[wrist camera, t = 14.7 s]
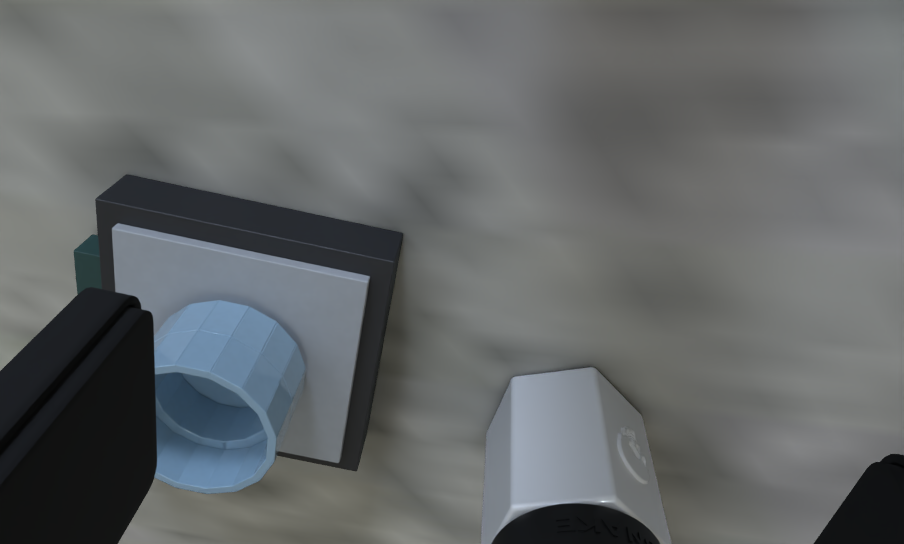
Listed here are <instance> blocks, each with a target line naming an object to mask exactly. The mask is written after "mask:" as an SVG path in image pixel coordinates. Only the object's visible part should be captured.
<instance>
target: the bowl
mask: <svg viewBox="0 0 904 544" xmlns="http://www.w3.org/2000/svg"><path fill="white" fill-rule="evenodd" d="M154 357H155V395H156V433H157V468H156V473H155V476H154V478H156V479H158V480H161V481H163V482H165V483H167V484H169V485H171V486H173V487H175V488H179V489H184V490H189V491H194V492H199V493H204V494H214V493H226V492H236V491H239V490H241V489H243V488H245V487H247V486H249V485H252V484H254V483H256V482H258V481H260V480H261V479H262V477H263V476H264V475H265V474H266V472H267V471H268V470H269V468H270V467H271V466H272V464H273V463H274V461H275V459H276V456H277V454H278V452H279V449H280V447H281V444H282V442H283V439H284V437H285V434H286V432H287V429H288V427H289V424H290V421H291V419H292V416H293V414H294V411H295V409H296V406H297V404H298V401H299V399H300V396H301V394H302V391H303V388H304V379H305V371H306V369H305V364H304V361H303V358H302V356H301V353H300V350H299V348H298V345H297V344H296V342H295V341H294V340H293V339H292V338H291V336H290V335H289V334H288V333H287V332H286V331H285V330H284V329H283V328H282V327H281V325H280V324H279V323H277V321H275V320H273V319H271V318H270V317H268V316H266V315H264V314H263V313H261V312H259V311H257V310H255V309H254V308H252V307H249V306H246V305H241V304H236V303H232V302H227V301H222V300H216V301H208V302H201V303H193V304H190V305H188V306H186V307H184V308H183V309H181V310H179V311H178V312H176V313H175V314H173V315H171V316H170V317H169V318H168V319H167V320H166V321H165V323H164V324H163V325H162V327H161V328H160V329H159V330H158V332H157V333H156V334H155V336H154Z"/></svg>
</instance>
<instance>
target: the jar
mask: <svg viewBox="0 0 904 544" xmlns="http://www.w3.org/2000/svg"><path fill="white" fill-rule="evenodd" d="M481 544H672V542H671V538H670V534H669V529H668V525H667V521H666V516H665V512H664V508H663V503H662V499H661V495H660V491H659V486H658V482H657V478H656V473H655V469H654V465H653V460H652V456H651V452H650V447H649V443H648V439H647V434H646V430H645V426H644V422H643V417H642V415H641V414H640V413H639V412H638V411H637V410H636V409H635V408H634V407H633V406H632V405H631V404H630V403H629V402H628V401H627V400H626V399H625V398H624V397H623V396H622V395H621V394H620V393H619V392H618V391H617V390H616V389H615V388H614V386H613V385H612V384H611V383H610V382H609V381H608V380H607V379H606V378H605V377H604V376H603V375H602V374H601V373H600V372H599V371H598V370H597V369H596V368H594V367H587V368H579V369H571V370H563V371H555V372H547V373H539V374H531V375H523V376H515V377H513V378H512V379H511V381H510V383H509V385H508V387H507V390H506V392H505V394H504V396H503V398H502V400H501V403H500V405H499V407H498V409H497V411H496V413H495V416H494V418H493V420H492V422H491V424H490V426H489V428H488V431H487V433H486V450H485V470H484V490H483V510H482V530H481Z"/></svg>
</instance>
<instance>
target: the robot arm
mask: <svg viewBox="0 0 904 544" xmlns="http://www.w3.org/2000/svg"><path fill="white" fill-rule="evenodd" d="M156 468H157V433H156V395H155V357H154V321H153V315H152V313H151V312H150V311H147V310H142V309H141V303H140V301H139V299H138V298H137V297H135V296H132V295H128V294H123V293H118V292H113V291H108V290H103V289H99V288H94V287H89V288H86V289H84V290H83V291H81V292H80V293H79V294H78V295H77V296H76V297H75V298H74V299H73V300H72V301H71V302H70V303H69V304H68V305H67V306H66V307H65V308H64V309H63V310H62V311H61V312H60V313H59V314H58V315H57V316H56V317H55V318H54V319H53V320H52V321H51V322H50V323H49V324H48V325H47V326H46V327H45V328H44V329H43V330H42V331H41V332H40V333H39V334H38V335H36V336H35V337H34V338H33V339H32V340H31V341H30V342H29V343H28V344H27V345H26V346H25V347H24V348H23V349H22V350H21V351H20V352H19V353H18V354H17V355H16V356H15V357H14V358H13V359H12V360H11V361H10V362H9V363H8V364H7V365H6V366H5V367H4V368H3V369H2V370H1V371H0V544H118V542H119V540H120V539H121V537H122V535H123V534H124V532H125V530H126V528H127V527H128V525H129V523H130V522H131V520H132V518H133V517H134V515H135V513H136V511H137V510H138V508H139V506H140V505H141V503H142V501H143V499H144V498H145V496H146V494H147V493H148V491H149V489H150V487H151V484H152V482H153V479H154V476H155V473H156ZM814 544H904V455H900V454H890V455H888V456H886V457H884V458H883V459H882V460H881V461H880V462H875V463H873V464H871V465H870V466H869V467H868V468H867V469H866V471H865V472H864V473H863V475H862V476H861V478H860V479H859V480H858V482H857V483H856V485H855V486H854V488H853V489H852V490H851V492H850V493H849V495H848V496H847V497H846V499H845V500H844V502H843V503H842V505H841V506H840V507H839V509H838V510H837V512H836V513H835V514H834V516H833V517H832V519H831V520H830V521H829V523H828V524H827V526H826V527H825V529H824V530H823V531H822V533H821V534H820V536H819V537H818V538H817V540H816V541H815V543H814Z"/></svg>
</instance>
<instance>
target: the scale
mask: <svg viewBox="0 0 904 544" xmlns="http://www.w3.org/2000/svg"><path fill="white" fill-rule="evenodd" d="M96 214H97V228H98V236H97V235H91V236H90V237H89V238H88V239H87V240H86V241H84V242H83V243H82V244H81V245H80V246H79V247H78V248H76V249H75V250H74V260H75V271H76V282H77V293H78V294H79V293H80V292H81V291H83V290H84V289H86V288H89V287H94V288H99V289H103V290H108V291H113V292H118V293H123V294H128V295H132V296H135V297H137V298H138V299H139V301H140V303H141V309H142V310H147V311H150V312H151V313H152V315H153V321H154V336H155V334H156V333H157V332H158V330H159V329H160V328H161V327H162V325H163V324H164V323H165V321H166V320H167V319H168V318H169V317H170V316H171V315H173V314H175V313H176V312H178V311H179V310H181V309H183V308H184V307H186V306H188V305H190V304H193V303H201V302H208V301H216V300H222V301H227V302H232V303H236V304H241V305H246V306H249V307H252V308H254V309H255V310H257V311H259V312H261V313H263V314H264V315H266V316H268V317H270V318H271V319H273V320H275V321H277V323H279V324H280V325H281V327H282V328H283V329H284V330H285V331H286V332H287V333H288V334H289V335H290V336H291V338H292V339H293V340H294V341H295V342H296V344H297V345H298V348H299V350H300V353H301V356H302V358H303V361H304V364H305V369H306V371H305V379H304V388H303V391H302V394H301V396H300V399H299V401H298V404H297V406H296V409H295V411H294V414H293V416H292V419H291V421H290V424H289V427H288V429H287V432H286V434H285V437H284V439H283V442H282V444H281V447H280V449H279V452H278V454H277V456H282V457H287V458H292V459H297V460H302V461H307V462H312V463H317V464H322V465H327V466H332V467H337V468H342V469H347V470H352V471H357V469H358V465H359V462H360V458H361V454H362V450H363V446H364V442H365V439H366V435H367V429H368V424H369V418H370V413H371V407H372V402H373V397H374V391H375V386H376V380H377V375H378V369H379V364H380V358H381V353H382V347H383V342H384V337H385V331H386V326H387V320H388V315H389V309H390V304H391V298H392V293H393V288H394V282H395V277H396V271H397V266H398V260H399V255H400V249H401V244H402V238H403V233H399V232H395V231H390V230H385V229H381V228H376V227H371V226H366V225H362V224H357V223H352V222H348V221H343V220H338V219H334V218H329V217H324V216H319V215H315V214H310V213H305V212H301V211H296V210H291V209H286V208H282V207H277V206H272V205H268V204H263V203H258V202H254V201H249V200H244V199H239V198H235V197H230V196H225V195H221V194H216V193H211V192H207V191H202V190H197V189H192V188H188V187H183V186H178V185H174V184H169V183H164V182H160V181H155V180H150V179H145V178H141V177H136V176H131V175H125V176H124V177H122V178H121V179H120V180H119V181H117V182H116V183H115V184H114V185H112V186H111V187H110V188H109V189H107V190H106V191H105V192H104V193H102V194H101V195H100V196H99V197H97V198H96Z"/></svg>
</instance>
